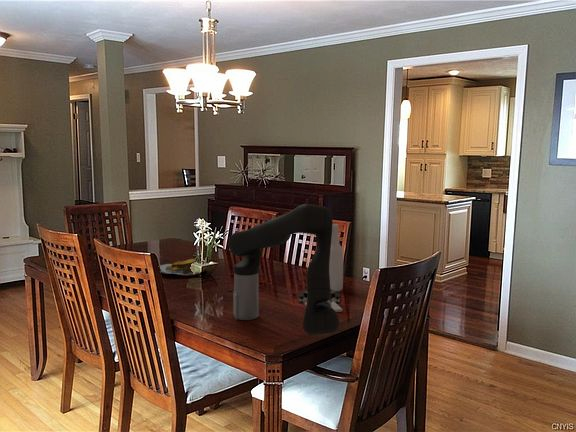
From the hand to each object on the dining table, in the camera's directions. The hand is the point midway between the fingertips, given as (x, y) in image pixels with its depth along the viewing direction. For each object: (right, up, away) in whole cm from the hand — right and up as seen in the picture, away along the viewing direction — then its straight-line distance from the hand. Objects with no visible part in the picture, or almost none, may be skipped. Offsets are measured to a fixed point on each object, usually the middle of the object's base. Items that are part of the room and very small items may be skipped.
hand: (318, 292), depth 187 cm
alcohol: (+10, -7, +52) cm, 54 cm away
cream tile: (+3, -10, +25) cm, 27 cm away
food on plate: (-65, -2, +81) cm, 104 cm away
